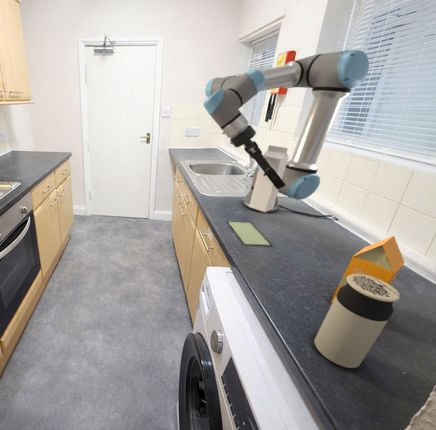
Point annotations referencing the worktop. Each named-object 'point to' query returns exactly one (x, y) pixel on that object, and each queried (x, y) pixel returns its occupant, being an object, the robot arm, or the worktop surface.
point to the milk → (264, 187)
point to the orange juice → (375, 262)
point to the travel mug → (355, 319)
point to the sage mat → (248, 234)
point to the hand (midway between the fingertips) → (279, 183)
